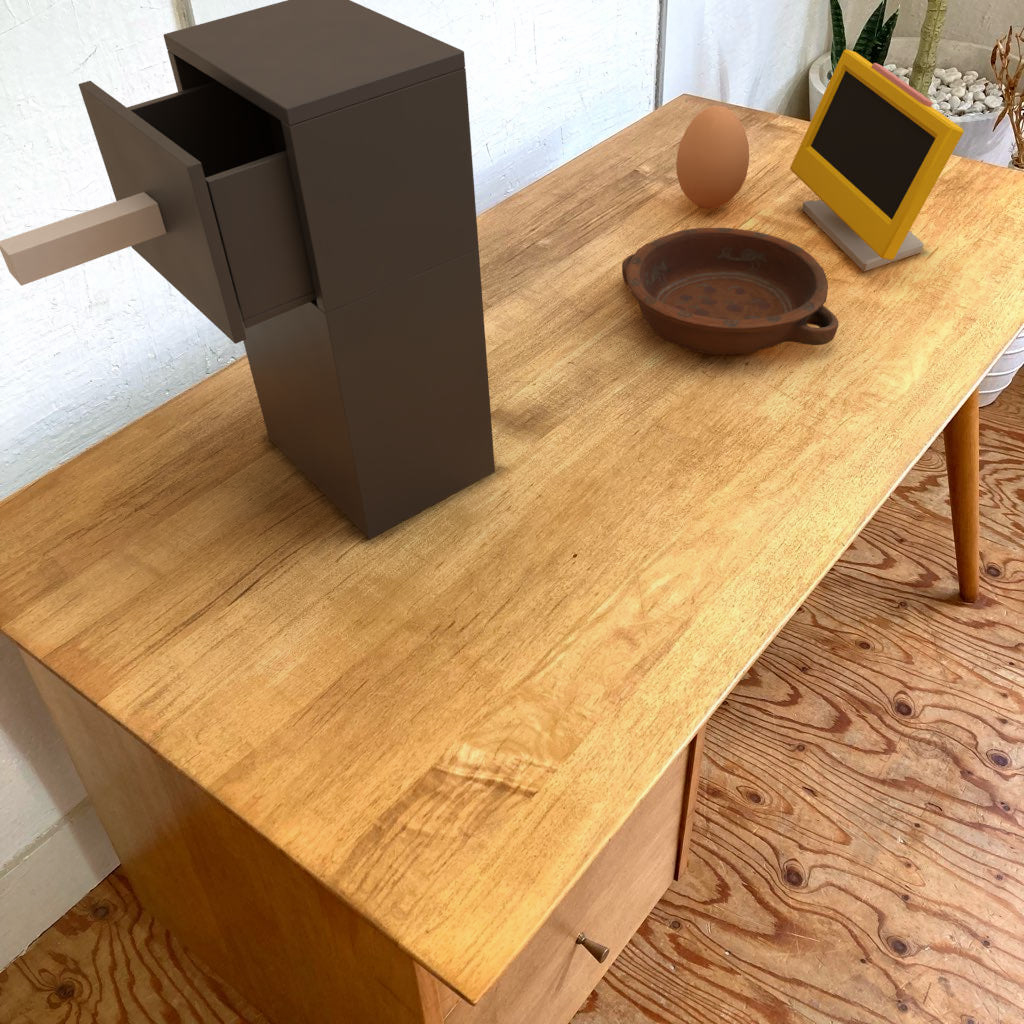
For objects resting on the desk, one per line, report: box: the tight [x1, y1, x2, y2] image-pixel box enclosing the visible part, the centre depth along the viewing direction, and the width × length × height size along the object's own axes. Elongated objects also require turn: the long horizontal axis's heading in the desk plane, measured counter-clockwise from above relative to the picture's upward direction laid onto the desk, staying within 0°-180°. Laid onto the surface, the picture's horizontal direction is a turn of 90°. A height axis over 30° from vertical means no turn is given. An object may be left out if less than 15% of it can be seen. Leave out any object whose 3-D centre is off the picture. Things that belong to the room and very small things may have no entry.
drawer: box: [0, 80, 316, 345], centre depth 64 cm, size 21×16×11 cm
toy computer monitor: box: [789, 48, 964, 272], centre depth 104 cm, size 20×8×16 cm, turn 14°
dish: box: [621, 227, 839, 356], centre depth 97 cm, size 18×22×5 cm
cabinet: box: [163, 0, 496, 540], centre depth 75 cm, size 12×16×33 cm
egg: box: [675, 105, 750, 210], centre depth 111 cm, size 8×8×11 cm
